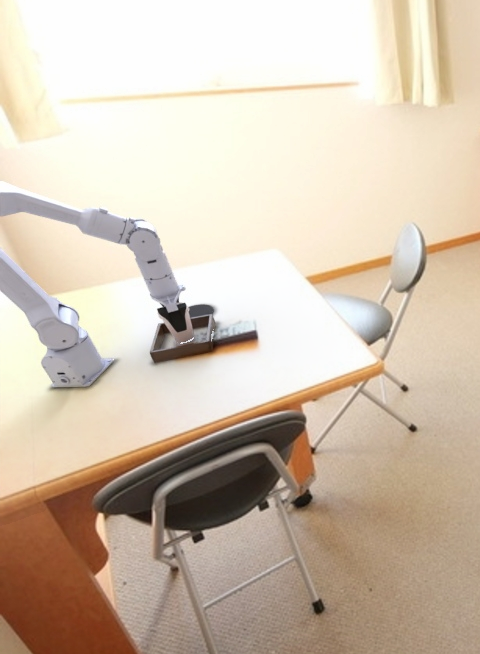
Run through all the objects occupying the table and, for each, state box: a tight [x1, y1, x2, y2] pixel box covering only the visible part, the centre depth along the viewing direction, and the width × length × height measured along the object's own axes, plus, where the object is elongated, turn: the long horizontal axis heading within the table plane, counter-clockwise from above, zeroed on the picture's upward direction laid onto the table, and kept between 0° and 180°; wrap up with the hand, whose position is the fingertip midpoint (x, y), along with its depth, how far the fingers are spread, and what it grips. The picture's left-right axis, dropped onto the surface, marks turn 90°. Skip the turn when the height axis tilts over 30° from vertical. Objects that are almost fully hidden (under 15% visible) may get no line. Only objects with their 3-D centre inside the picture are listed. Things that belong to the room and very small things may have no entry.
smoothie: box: [157, 302, 196, 346], centre depth 117 cm, size 6×6×14 cm
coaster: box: [188, 303, 214, 318], centre depth 131 cm, size 9×9×1 cm
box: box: [149, 313, 217, 364], centre depth 120 cm, size 13×12×3 cm
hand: (179, 324), depth 118 cm, fingers open, 6 cm apart
